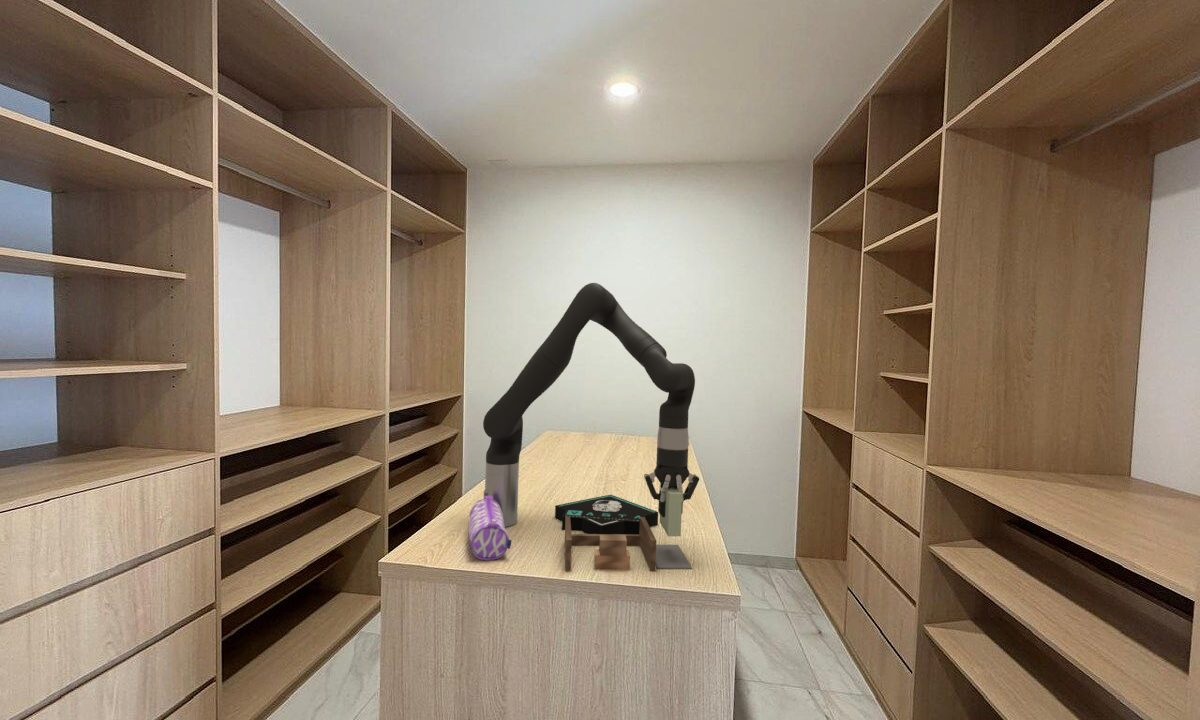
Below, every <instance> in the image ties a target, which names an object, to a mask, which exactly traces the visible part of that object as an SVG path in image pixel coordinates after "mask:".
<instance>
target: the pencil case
mask: <svg viewBox="0 0 1200 720" xmlns="http://www.w3.org/2000/svg"><path fill="white" fill-rule="evenodd" d="M468 520H469V521H468V538H469V539H468V540H469V544H470V548H471V551H472V553H473V555H474V556H475V557H476V558H477V559H480V560H481V561H494V560H498V559H500V558H501V557H503V556H504V555H505V554H506V552H507V550H510V549H511V546H512V542H513V541H512V539H510V537H509V534H508V531H507V530H506V527H505V524H504V520H503V514H502V511H501V508H500V506H499V504H498V503H497V502H496V501H494V500H493V496H485V498H484V497H483V499H479V500H476V502H475V503H474V504H473V505H472V507H471V509H470V511H469V519H468Z"/></svg>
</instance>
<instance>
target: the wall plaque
mask: <svg viewBox="0 0 1200 720" xmlns="http://www.w3.org/2000/svg"><path fill="white" fill-rule="evenodd" d="M554 507H555V509H554V519H555V518H556V519H555V520H557V519H558V521H559V520H560V522H561V521H562V522H561V531H565V516H568V517H570V522H571V532H581V533H583V534H639V530H640V517H645V519H646V521H647V523H648V525H649V527H650V528H653V527H656V526H658V525H659V524H658V523H659V511H656V510H654V509H651V508H648V507H645V506H643V505H641V504H638V503H635V502H632V501H630V500H626V499H624V498H622V497H619V496H615V495H613V494H607V495H606V494H605V495H602V496H596V497H591V498H586V499H581V500H575V501H572V502H566V503H561V504H557V505H554Z"/></svg>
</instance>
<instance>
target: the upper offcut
mask: <svg viewBox="0 0 1200 720" xmlns="http://www.w3.org/2000/svg"><path fill="white" fill-rule="evenodd" d="M627 548H628V546H627V539H626V536H625V535H600V540H599V546H598V549H599V552H600V556H626V552H627V550H628V549H627Z"/></svg>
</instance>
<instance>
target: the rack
mask: <svg viewBox="0 0 1200 720" xmlns="http://www.w3.org/2000/svg"><path fill="white" fill-rule="evenodd" d="M600 535H625V536H626V539H627V547H629V546H631V547H632V546H633V547H637V546H638V547H639V548H640V549H641V552H642V555H643V556H644V557H643V558H644V560H645V562H646V564H647V567H648V569H649V572H656V568H657V566H656V545H657V539H656V537H655V535H654V532H653V531H652V529H651V527H649V525H648V523H647V521H646V519H645V517H640V530H639V534H586V533H572V531H571V522H570V517H568V516H565V530H564V544H563V545H564V568H565V569H564V570H565V572H571V570H572V547H573V546H582V547H583V546H588V547H589V546H590V547H591V546H593V547H594V546H597V547H599V540H600Z"/></svg>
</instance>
